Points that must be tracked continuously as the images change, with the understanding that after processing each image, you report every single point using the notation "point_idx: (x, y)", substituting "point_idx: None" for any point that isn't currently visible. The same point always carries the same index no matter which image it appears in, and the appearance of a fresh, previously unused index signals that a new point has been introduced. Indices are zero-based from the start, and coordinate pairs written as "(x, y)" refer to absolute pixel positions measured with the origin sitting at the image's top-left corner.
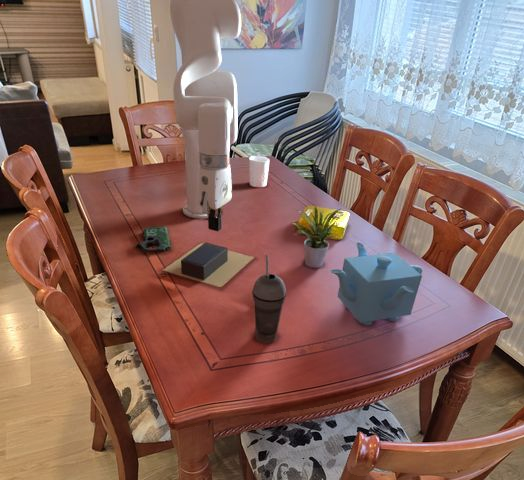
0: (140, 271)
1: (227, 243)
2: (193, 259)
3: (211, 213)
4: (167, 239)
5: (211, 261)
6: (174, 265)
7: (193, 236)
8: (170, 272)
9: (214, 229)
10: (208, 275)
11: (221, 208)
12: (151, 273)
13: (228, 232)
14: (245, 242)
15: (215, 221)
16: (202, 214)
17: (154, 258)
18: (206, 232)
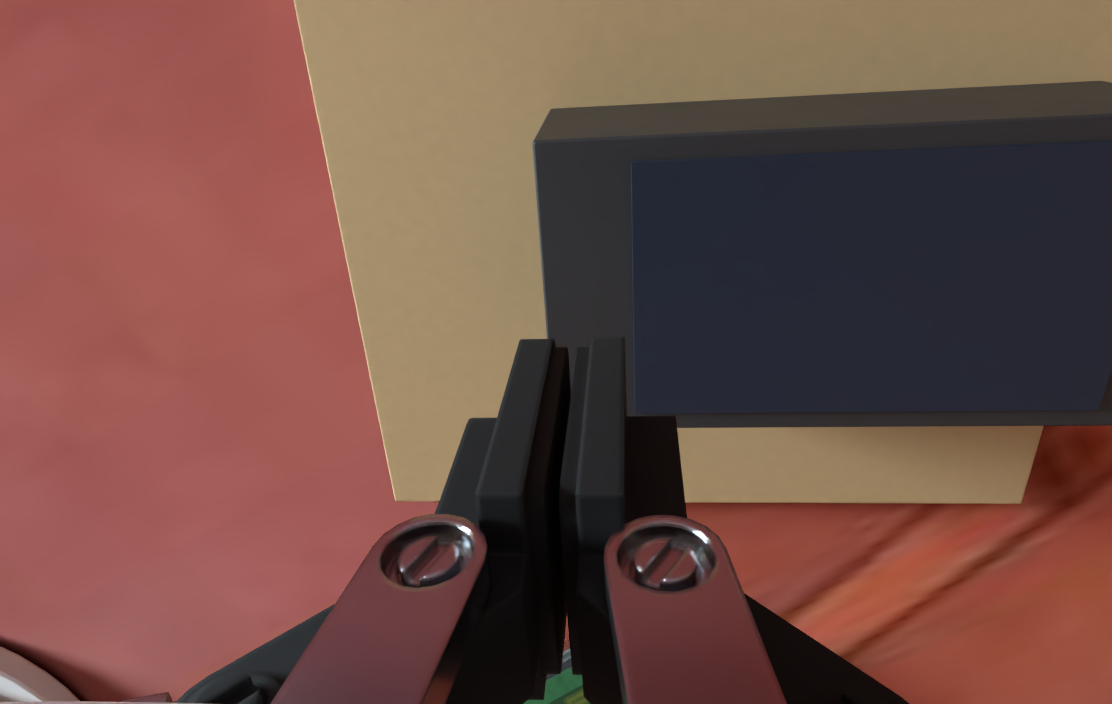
0: (1059, 613)
1: (208, 325)
2: (1058, 322)
3: (897, 697)
4: (549, 699)
5: (992, 117)
6: (895, 470)
7: (321, 594)
8: (1039, 434)
9: (626, 411)
10: (1001, 88)
11: (386, 643)
12: (1064, 543)
13: (38, 423)
14: (50, 191)
15: (650, 484)
16: (12, 701)
17: (813, 634)
18: (190, 555)
